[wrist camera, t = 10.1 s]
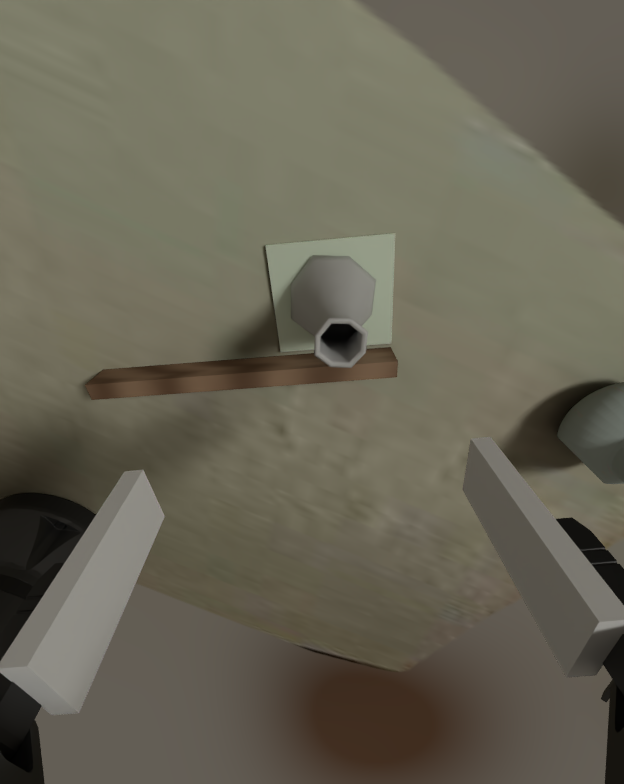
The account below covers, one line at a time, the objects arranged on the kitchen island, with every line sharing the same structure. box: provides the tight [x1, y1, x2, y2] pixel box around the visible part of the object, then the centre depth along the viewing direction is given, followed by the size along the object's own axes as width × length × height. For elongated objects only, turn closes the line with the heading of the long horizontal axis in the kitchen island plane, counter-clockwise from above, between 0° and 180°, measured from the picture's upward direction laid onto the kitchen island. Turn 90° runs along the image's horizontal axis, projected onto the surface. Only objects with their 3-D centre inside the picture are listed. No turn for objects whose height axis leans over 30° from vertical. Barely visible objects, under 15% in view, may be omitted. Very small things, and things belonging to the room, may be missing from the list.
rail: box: [85, 347, 398, 400], centre depth 31 cm, size 27×2×3 cm, turn 95°
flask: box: [291, 255, 376, 368], centre depth 24 cm, size 7×7×10 cm
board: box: [265, 233, 395, 352], centre depth 28 cm, size 10×9×1 cm
